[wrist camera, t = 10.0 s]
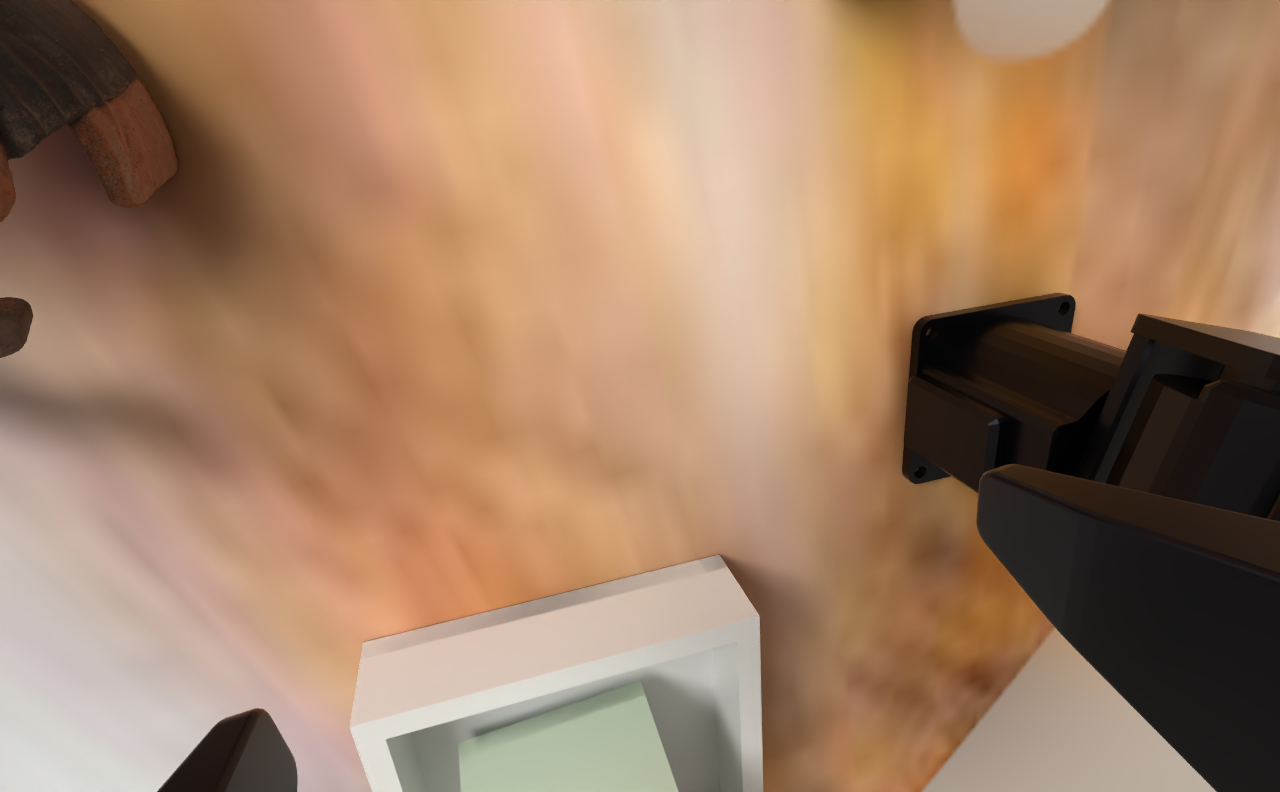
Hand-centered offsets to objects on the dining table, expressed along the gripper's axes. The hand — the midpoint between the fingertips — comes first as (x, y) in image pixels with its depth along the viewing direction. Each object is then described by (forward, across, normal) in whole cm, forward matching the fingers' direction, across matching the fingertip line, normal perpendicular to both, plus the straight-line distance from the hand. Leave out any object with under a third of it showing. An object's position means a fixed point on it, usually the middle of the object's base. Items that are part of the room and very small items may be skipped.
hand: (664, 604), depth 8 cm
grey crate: (+13, +2, +16) cm, 21 cm away
